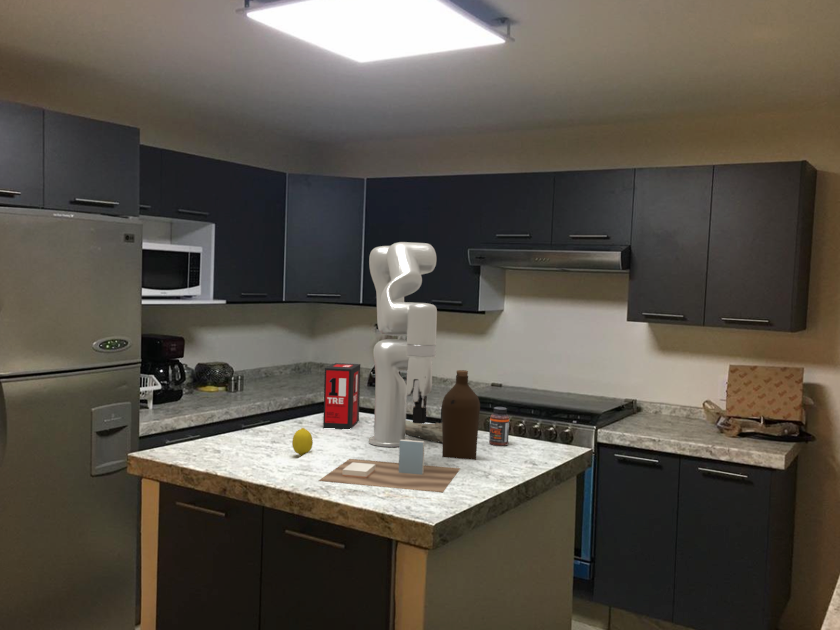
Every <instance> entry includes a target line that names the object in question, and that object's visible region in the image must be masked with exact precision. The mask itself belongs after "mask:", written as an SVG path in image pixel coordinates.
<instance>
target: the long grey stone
mask: <svg viewBox="0 0 840 630" xmlns="http://www.w3.org/2000/svg"><path fill="white" fill-rule="evenodd" d="M405 435H408V436H411V437H416V438H420V439H423V440H426V441H431V442H434V443H443V438H442V422H440V423H439V422H435V423H424V424H421V423H413V420H412V421H411V420H407V419H406V427H405Z"/></svg>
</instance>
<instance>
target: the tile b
mask: <svg viewBox="0 0 840 630" xmlns="http://www.w3.org/2000/svg"><path fill="white" fill-rule="evenodd" d="M398 448H399V450H398V454H399V455H398V463H399V473H409V474H421V475H422V474H423V471H424V465H425V464H424V463H425V441H423V440H411V439H410V440H400V445H399V447H398Z"/></svg>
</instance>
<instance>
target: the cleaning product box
mask: <svg viewBox="0 0 840 630" xmlns="http://www.w3.org/2000/svg"><path fill="white" fill-rule="evenodd" d="M323 382H324V384H323V386H324V387H323V388H324V390H323V392H324V393H323V419H322V420H323V421H322V422H323V423H322V427H323V428H322V429H324V428H335V429H334V430H342V429H350V428H351V429H353V427H354V426H355V425H356V424H358V423H359V421H360V397H361V396H360V393H361V392H360V390H361V389H360V388H361V387H360V386H361V363H341V362H340V363H339V362H338V363H337V362H335V363H332V364H330V365H329V366H327V367H325V368H324V381H323ZM351 429H350V430H351Z"/></svg>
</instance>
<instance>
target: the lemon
mask: <svg viewBox="0 0 840 630" xmlns="http://www.w3.org/2000/svg"><path fill="white" fill-rule="evenodd" d="M313 440H314V439H313V436H312V433H311V431H310V430H308V429H306V428H304V427H301V428H300V429H297V431H295V433H294V434H293V437H292V440H291V441H292V448H293V450H294V452H295V453H296V454H298V455H299V456H300V457H303V456H304V455H307V454H308V453H310V451H311V450H312V448H313V443H314V442H313Z"/></svg>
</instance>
